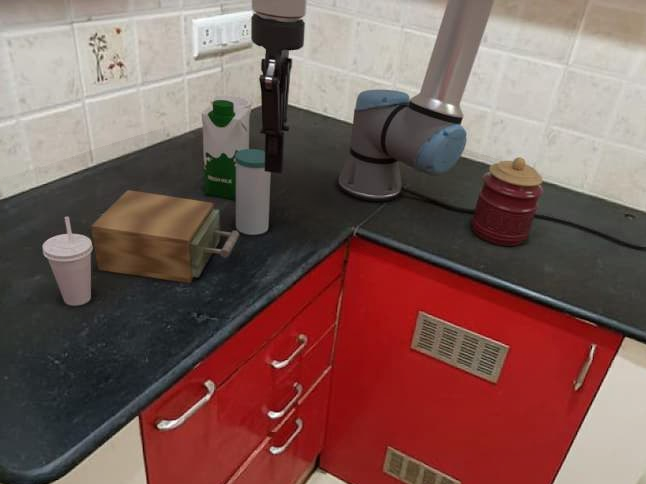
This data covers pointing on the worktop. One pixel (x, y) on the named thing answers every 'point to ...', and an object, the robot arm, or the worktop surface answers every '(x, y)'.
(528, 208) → the kitchen canister
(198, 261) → the drawer
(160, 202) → the cabinet
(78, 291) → the smoothie
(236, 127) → the milk carton
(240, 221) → the container
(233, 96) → the foam cup
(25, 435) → the worktop surface
